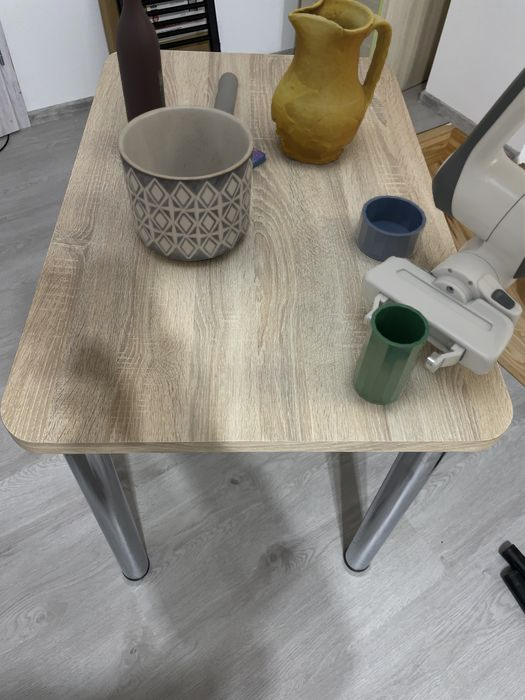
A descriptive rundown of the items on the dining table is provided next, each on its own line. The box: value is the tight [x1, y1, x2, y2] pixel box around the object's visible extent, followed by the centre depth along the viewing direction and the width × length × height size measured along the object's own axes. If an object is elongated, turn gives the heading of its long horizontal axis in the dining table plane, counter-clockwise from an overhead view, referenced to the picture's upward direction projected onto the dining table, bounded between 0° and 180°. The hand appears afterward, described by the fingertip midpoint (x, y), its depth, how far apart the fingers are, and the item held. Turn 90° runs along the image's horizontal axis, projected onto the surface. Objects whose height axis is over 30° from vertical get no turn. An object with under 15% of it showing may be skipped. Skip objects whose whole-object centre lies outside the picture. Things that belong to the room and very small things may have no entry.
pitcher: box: [270, 0, 393, 165], centre depth 97 cm, size 17×19×25 cm
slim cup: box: [352, 303, 430, 405], centre depth 67 cm, size 7×7×12 cm
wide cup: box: [355, 194, 428, 263], centre depth 88 cm, size 10×10×6 cm
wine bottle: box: [114, 0, 167, 124], centre depth 91 cm, size 7×7×30 cm
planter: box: [117, 104, 255, 262], centre depth 83 cm, size 19×19×16 cm
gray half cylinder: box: [213, 71, 239, 116], centre depth 115 cm, size 4×20×2 cm, turn 178°
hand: (397, 344), depth 67 cm, fingers open, 8 cm apart
